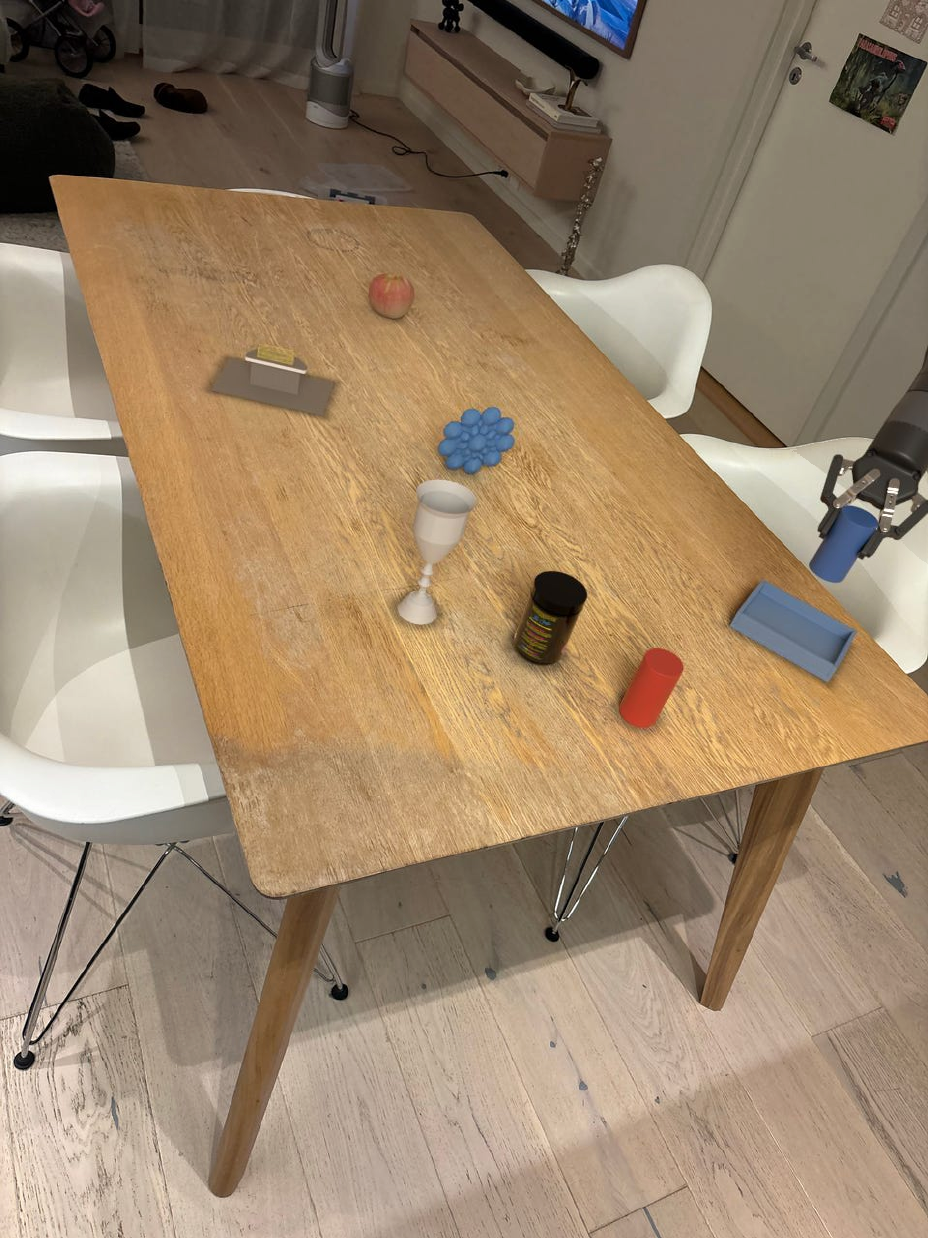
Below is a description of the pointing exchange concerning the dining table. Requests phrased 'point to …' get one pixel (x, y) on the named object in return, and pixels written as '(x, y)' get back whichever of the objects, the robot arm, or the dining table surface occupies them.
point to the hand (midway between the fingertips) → (841, 546)
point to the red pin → (651, 687)
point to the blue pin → (843, 544)
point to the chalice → (435, 538)
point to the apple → (391, 295)
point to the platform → (274, 381)
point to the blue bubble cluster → (476, 440)
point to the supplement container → (549, 617)
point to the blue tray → (794, 630)
